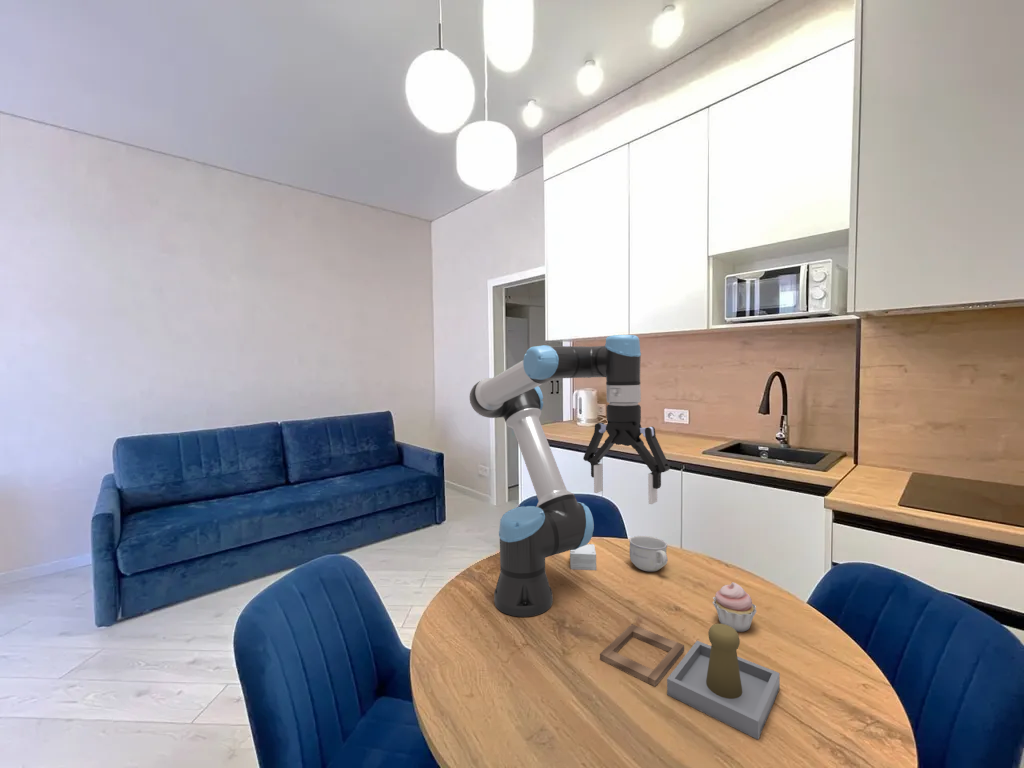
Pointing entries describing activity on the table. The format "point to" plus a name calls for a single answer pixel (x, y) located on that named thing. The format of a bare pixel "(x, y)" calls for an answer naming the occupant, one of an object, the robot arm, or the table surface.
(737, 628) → the cupcake
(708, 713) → the tray
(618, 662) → the socket block
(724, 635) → the olive bulb peg
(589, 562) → the small box
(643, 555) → the teacup
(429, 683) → the table surface
